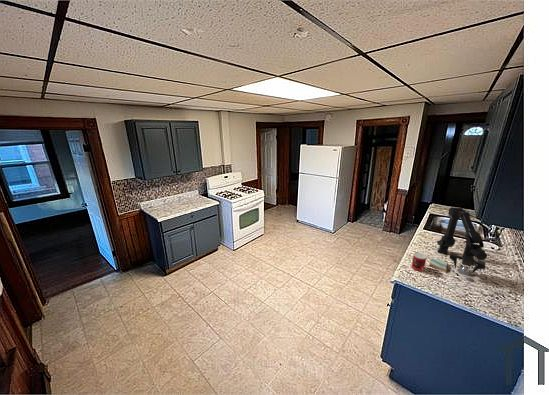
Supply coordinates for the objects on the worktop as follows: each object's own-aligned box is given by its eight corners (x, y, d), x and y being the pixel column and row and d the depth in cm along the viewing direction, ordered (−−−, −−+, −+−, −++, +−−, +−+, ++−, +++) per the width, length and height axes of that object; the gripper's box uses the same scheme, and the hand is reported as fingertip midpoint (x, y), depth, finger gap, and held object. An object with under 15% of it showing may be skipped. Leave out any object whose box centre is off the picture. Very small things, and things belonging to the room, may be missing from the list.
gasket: (465, 277, 150) (466, 276, 150) (474, 280, 147) (474, 279, 147) (465, 280, 147) (465, 279, 147) (474, 283, 144) (474, 282, 144)
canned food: (421, 265, 162) (424, 252, 158) (425, 272, 155) (428, 259, 151) (409, 264, 164) (412, 251, 160) (413, 270, 157) (416, 257, 153)
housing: (458, 268, 159) (460, 263, 157) (467, 271, 156) (469, 266, 154) (458, 273, 153) (460, 268, 152) (467, 276, 150) (469, 271, 149)
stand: (431, 260, 168) (432, 257, 167) (447, 265, 162) (448, 262, 161) (429, 266, 161) (429, 263, 160) (445, 272, 155) (446, 269, 154)
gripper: (451, 251, 149) (445, 270, 154) (488, 262, 137) (481, 282, 142) (452, 244, 157) (447, 263, 162) (488, 254, 145) (481, 274, 150)
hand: (463, 270), depth 154 cm, fingers open, 9 cm apart
